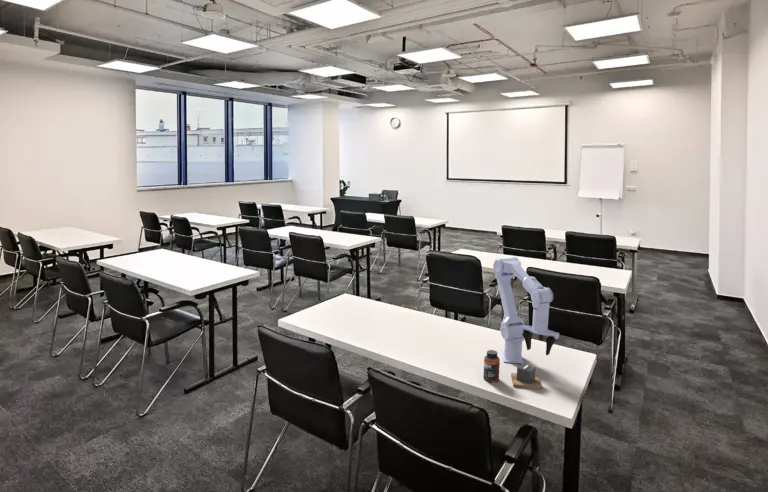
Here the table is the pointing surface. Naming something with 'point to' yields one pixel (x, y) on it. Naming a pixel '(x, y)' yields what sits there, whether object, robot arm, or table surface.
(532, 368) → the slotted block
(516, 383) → the block
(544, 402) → the table surface
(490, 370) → the supplement bottle
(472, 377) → the table surface
